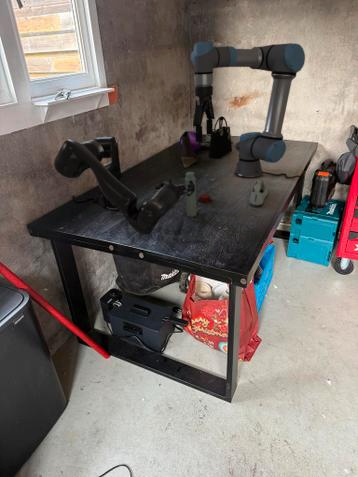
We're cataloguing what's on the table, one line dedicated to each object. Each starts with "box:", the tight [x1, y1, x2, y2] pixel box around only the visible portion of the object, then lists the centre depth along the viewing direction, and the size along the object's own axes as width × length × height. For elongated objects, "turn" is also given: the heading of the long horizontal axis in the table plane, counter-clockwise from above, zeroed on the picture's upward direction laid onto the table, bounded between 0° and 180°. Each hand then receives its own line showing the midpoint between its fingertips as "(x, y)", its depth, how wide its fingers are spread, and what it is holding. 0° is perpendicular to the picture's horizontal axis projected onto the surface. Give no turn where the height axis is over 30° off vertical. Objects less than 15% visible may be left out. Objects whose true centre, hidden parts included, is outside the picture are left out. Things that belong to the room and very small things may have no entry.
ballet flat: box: [249, 179, 269, 207], centre depth 158 cm, size 8×24×8 cm, turn 163°
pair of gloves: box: [198, 135, 234, 150], centre depth 250 cm, size 30×26×5 cm
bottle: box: [184, 171, 198, 218], centre depth 143 cm, size 4×4×19 cm
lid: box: [199, 193, 211, 203], centre depth 160 cm, size 5×5×2 cm
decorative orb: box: [178, 130, 201, 153], centre depth 230 cm, size 15×15×15 cm
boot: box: [180, 130, 198, 169], centre depth 209 cm, size 9×24×20 cm, turn 168°
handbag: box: [208, 115, 233, 159], centre depth 220 cm, size 21×9×25 cm, turn 148°
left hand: (181, 181), depth 129 cm, fingers open, 8 cm apart
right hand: (204, 138), depth 146 cm, fingers open, 13 cm apart
